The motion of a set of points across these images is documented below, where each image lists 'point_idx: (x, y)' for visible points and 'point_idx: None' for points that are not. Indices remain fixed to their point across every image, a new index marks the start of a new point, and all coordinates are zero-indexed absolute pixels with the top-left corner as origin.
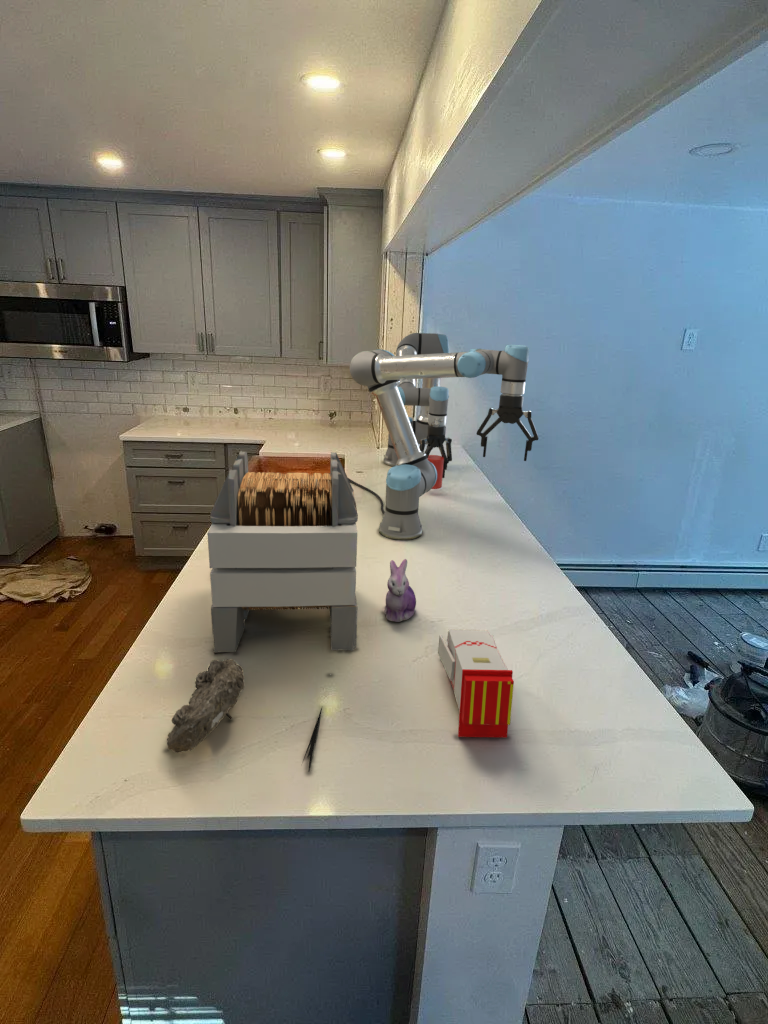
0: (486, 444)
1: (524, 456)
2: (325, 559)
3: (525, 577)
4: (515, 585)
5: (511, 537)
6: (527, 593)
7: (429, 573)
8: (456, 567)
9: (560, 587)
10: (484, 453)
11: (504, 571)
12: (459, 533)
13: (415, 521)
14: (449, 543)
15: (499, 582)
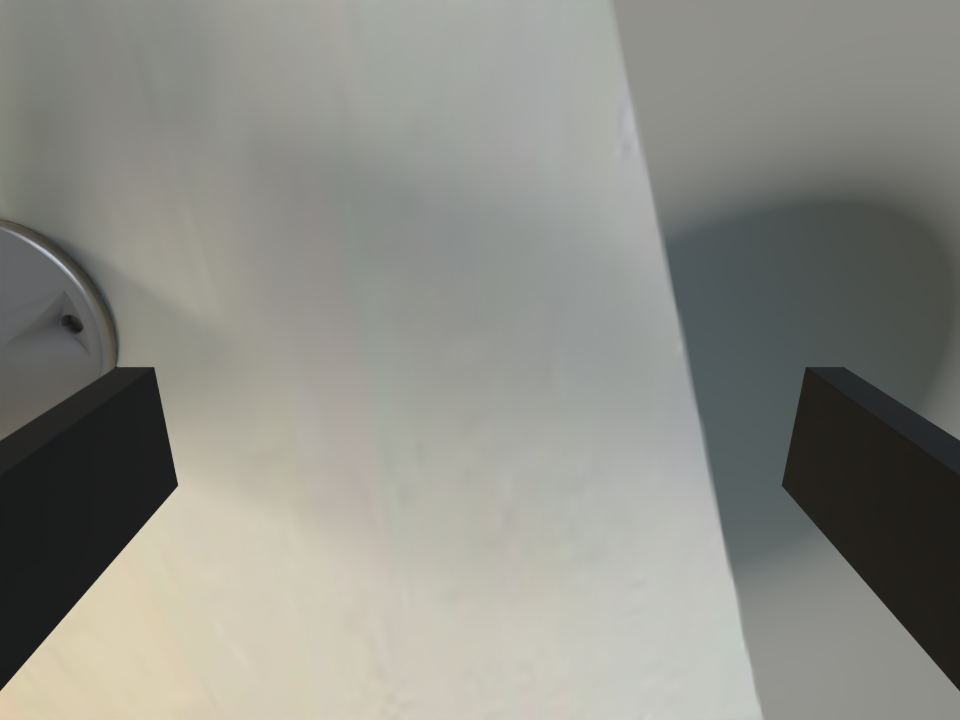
0: (30, 601)
1: (822, 494)
2: None
3: (606, 593)
4: (568, 653)
5: (567, 200)
6: (604, 688)
7: (274, 653)
8: (354, 590)
9: (721, 627)
10: (131, 520)
11: (531, 571)
12: (289, 238)
13: (39, 403)
14: (273, 383)
15: (514, 648)
